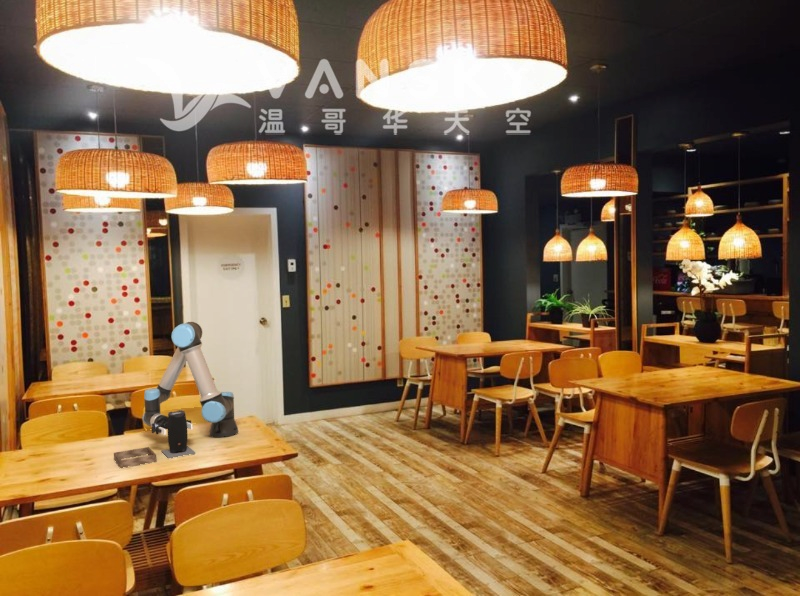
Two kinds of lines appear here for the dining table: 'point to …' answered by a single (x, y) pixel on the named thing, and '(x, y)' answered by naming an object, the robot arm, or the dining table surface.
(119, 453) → the walnut collar
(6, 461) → the dining table surface
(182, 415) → the portable speaker
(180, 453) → the rubber mat
